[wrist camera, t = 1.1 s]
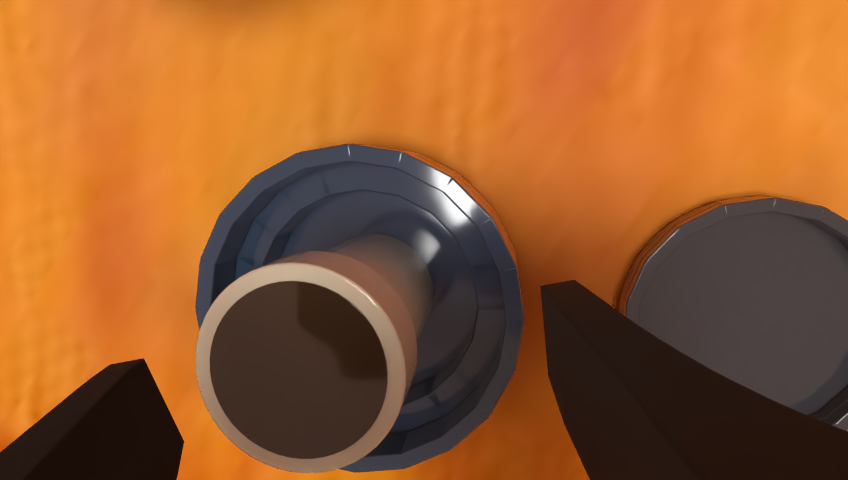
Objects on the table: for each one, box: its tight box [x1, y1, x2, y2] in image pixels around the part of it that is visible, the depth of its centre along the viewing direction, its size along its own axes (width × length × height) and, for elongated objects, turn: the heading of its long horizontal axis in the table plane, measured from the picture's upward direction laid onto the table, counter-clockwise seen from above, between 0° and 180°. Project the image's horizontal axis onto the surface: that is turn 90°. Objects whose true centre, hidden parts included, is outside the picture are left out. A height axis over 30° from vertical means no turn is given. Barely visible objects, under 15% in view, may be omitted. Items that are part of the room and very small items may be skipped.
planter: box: [196, 144, 524, 472], centre depth 22 cm, size 12×12×4 cm
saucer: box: [618, 196, 848, 431], centre depth 22 cm, size 9×10×2 cm
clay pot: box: [195, 234, 434, 473], centre depth 19 cm, size 6×6×9 cm
